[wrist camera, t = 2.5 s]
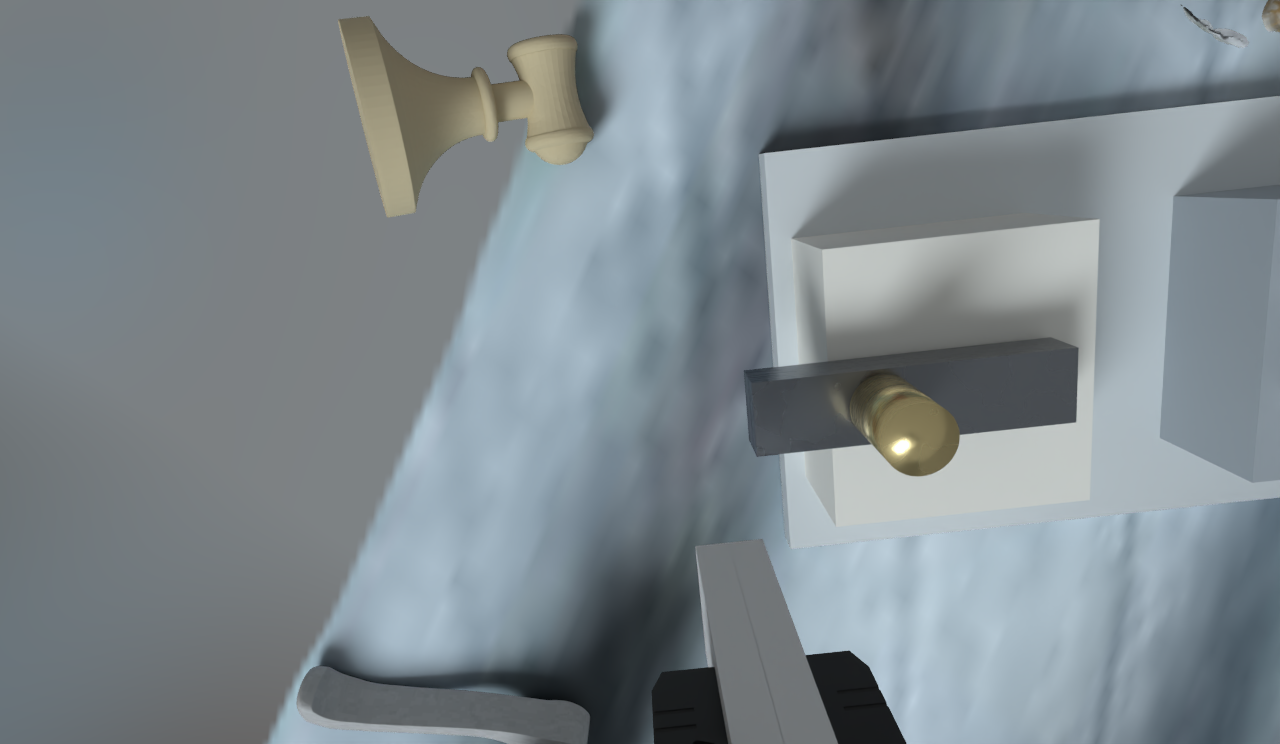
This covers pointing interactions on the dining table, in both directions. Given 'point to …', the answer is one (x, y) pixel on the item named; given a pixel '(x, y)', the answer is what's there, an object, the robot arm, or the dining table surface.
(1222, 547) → the dining table surface
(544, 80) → the door knob
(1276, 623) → the dining table surface
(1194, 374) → the white stepped platform
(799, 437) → the bolt
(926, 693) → the dining table surface
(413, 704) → the door handle
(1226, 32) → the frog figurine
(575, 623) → the dining table surface
